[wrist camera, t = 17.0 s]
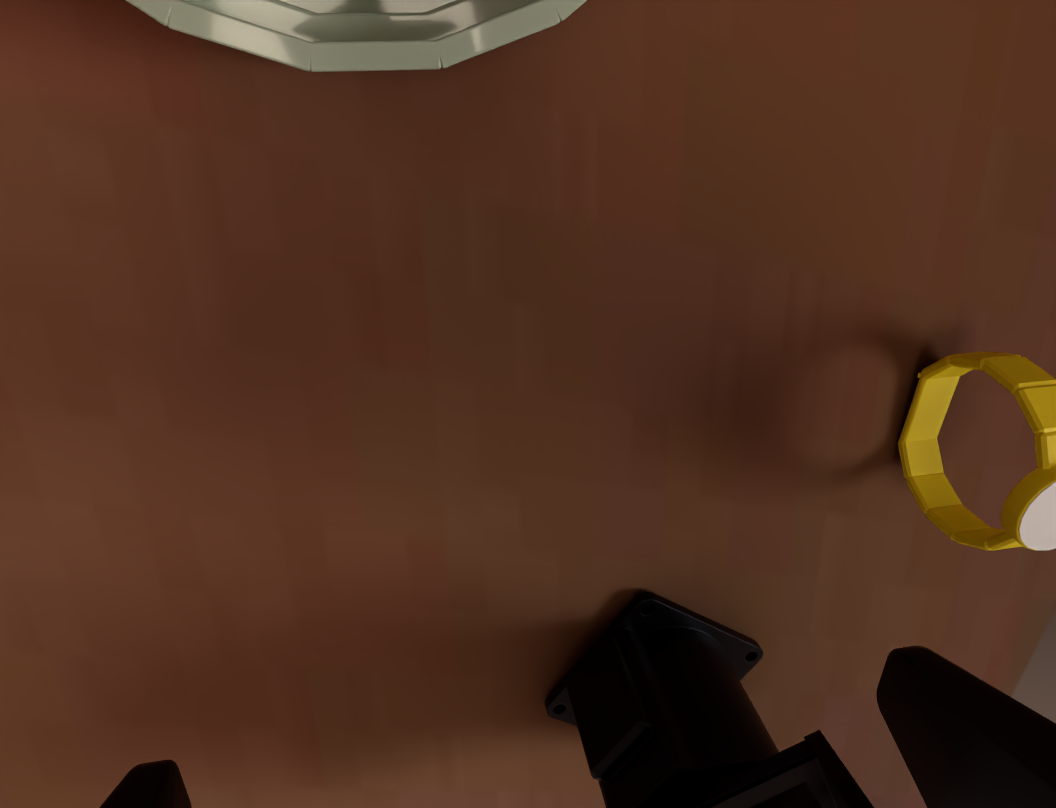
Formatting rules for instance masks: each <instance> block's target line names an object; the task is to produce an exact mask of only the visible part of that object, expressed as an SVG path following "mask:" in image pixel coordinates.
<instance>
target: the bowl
mask: <svg viewBox="0 0 1056 808" xmlns="http://www.w3.org/2000/svg"><path fill="white" fill-rule="evenodd" d="M125 1H127V2H128V3H130V4H131V5H133V6H134V7H136V8H138V9H139V10H141V11H142V12H144V13H145V14H147V15H148V16H150V17H151V18H153V19H154V20H156V21H157V22H159V23H161V24H162V25H164V26H168V28H170V29H172V30H176V31H179V32H182V33H185V34H189V35H192V36H195V37H198V38H201V39H205V40H208V41H211V42H214V43H217V44H221V45H224V46H227V47H230V48H234V49H237V50H240V51H243V52H246V53H250V54H253V55H256V56H259V57H263V58H266V59H269V60H272V61H275V62H279V63H282V64H285V65H288V66H291V67H295V68H298V69H301V70H304V71H312V72H343V71H389V70H434V69H440V68H447V67H449V66H452V65H454V64H457V63H459V62H462V61H465V60H467V59H470V58H472V57H475V56H477V55H480V54H483V53H485V52H488V51H490V50H493V49H495V48H498V47H501V46H503V45H506V44H508V43H511V42H513V41H516V40H519V39H521V38H524V37H526V36H529V35H531V34H534V33H537V32H539V31H542V30H544V29H547V28H549V27H552V26H554V25H557V24H559V23H560V22H561V21H564V20H565V19H566V18H567V17H569V16H570V15H571V14H572V13H573V12H574V11H576V10H577V9H578V8H579V7H580V6H581V5H583V4H584V3H585V2H586V1H587V0H125Z"/></svg>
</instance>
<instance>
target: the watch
mask: <svg viewBox="0 0 1056 808" xmlns="http://www.w3.org/2000/svg"><path fill="white" fill-rule="evenodd" d="M973 369H975V370H983V371H984V372H986V373H987V374H988V375H990V376H991V377H992V378H993V379H995V380H996V381H997V382H998V383H1000V384H1001V385H1002V386H1003V387H1005V388H1006V389H1007V390H1008V391H1010V392H1011V393H1012V394H1014V396H1015V398H1016V400H1017V402H1018V404H1019V406H1020V408H1021V410H1022V411H1023V413H1024V415H1025V417H1026V419H1027V421H1028V423H1029V425H1030V427H1031V429H1032V431H1033V433H1034V434H1035V447H1036V458H1037V469H1035V470H1033V471H1032V472H1031V473H1030V474H1028V475H1027V476H1026V477H1024V478H1023V479H1022V480H1021V481H1020V482H1019V483H1018V484H1017V485H1016V486H1015V487H1014V488H1013V490H1012V491H1011V492H1010V494H1009V495H1008V497H1007V499H1006V501H1005V502H1004V505H1003V508H1002V512H1001V521H1002V527H1003V528H1004V529H1005V530H1002V529H998V528H993V527H989V526H988V525H987V524H985V523H984V522H983V521H982V520H980V519H979V518H978V517H977V516H976V515H974V514H973V513H972V512H971V511H969V510H968V509H967V508H966V507H964V506H963V505H962V503H961V502H960V500H959V498H958V497H957V495H956V493H955V491H954V490H953V488H952V486H951V485H950V483H949V481H948V479H947V478H946V476H945V474H944V473H943V472H944V471H943V466H942V461H941V456H940V451H939V446H938V441H937V436H938V433H939V431H940V428H941V425H942V423H943V420H944V417H945V415H946V412H947V409H948V407H949V404H950V401H951V399H952V396H953V393H954V391H955V388H956V385H957V383H958V380H959V377H960V376H961V375H963V374H965V373H967V372H969V371H971V370H973ZM919 377H920V379H919V382H918V385H917V388H916V391H915V394H914V397H913V400H912V403H911V406H910V409H909V412H908V415H907V418H906V421H905V424H904V427H903V430H902V433H901V435H900V438H899V441H898V447H899V452H900V458H901V463H902V468H903V473H904V477H905V478H906V479H907V480H906V483H907V484H908V486H909V488H910V490H911V492H912V494H913V496H914V497H915V499H916V501H917V503H918V505H919V507H920V508H921V510H922V512H923V513H924V514H926V517H927V518H928V519H929V520H930V521H931V522H932V523H934V524H935V525H936V526H937V527H938V528H939V529H940V530H942V531H943V532H944V533H945V534H946V535H947V536H948V537H950V538H951V539H952V540H955V541H956V542H957V543H960V544H963V545H967V546H971V547H975V548H979V549H983V550H987V551H989V550H1000V549H1007V548H1014V547H1021V546H1024V547H1026V548H1029V549H1031V550H1051V549H1055V548H1056V379H1055V378H1054V377H1052V376H1051V375H1049V374H1048V373H1047V372H1045V371H1044V370H1043V369H1041V368H1040V367H1038V366H1037V365H1036V364H1034V363H1033V362H1031V361H1030V360H1029V359H1027V358H1026V357H1021V356H1020V355H1018V354H1008V353H998V352H988V351H986V352H975V353H964V354H953V355H949V356H946V357H944V358H942V359H940V360H939V361H937V362H935V363H933V364H931V365H930V366H928V367H926V368H924V369H923V370H922V372H921V373H918V378H919Z"/></svg>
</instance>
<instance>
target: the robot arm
mask: <svg viewBox="0 0 1056 808" xmlns="http://www.w3.org/2000/svg"><path fill="white" fill-rule="evenodd" d="M645 605H648V606H647V607H644V606H645ZM642 607H644V608H642ZM762 656H763V651H762V649H761V647H760V646H759V644H758V643H757V642H756V641H755V640H753V639H751V638H749V637H747V636H744V635H742V634H740V633H738V632H736V631H734V630H732V629H729V628H727V627H725V626H723V625H721V624H719V623H716V622H714V621H712V620H710V619H708V618H706V617H704V616H701V615H699V614H697V613H695V612H693V611H691V610H689V609H686V608H684V607H682V606H680V605H678V604H676V603H673V602H671V601H669V600H667V599H665V598H663V597H661V596H658V595H656V594H654V593H651V592H642V593H640V594H638V595H637V596H635V597H634V598H633V599H632V601H631V602H630V603H629V604H628V605H627V606H626V607H625V609H624V610H623V611H622V612H621V613H620V614H619V615H618V617H617V618H616V619H615V620H614V621H613V622H612V623H611V625H610V626H609V627H608V628H607V629H606V630H605V631H604V633H603V634H602V635H601V636H600V637H599V638H598V639H597V641H596V642H595V643H594V644H593V645H592V646H591V647H590V649H589V650H588V651H587V652H586V653H585V654H584V655H583V657H582V658H581V659H580V660H579V661H578V662H577V663H576V665H575V666H574V667H573V668H572V669H571V670H570V671H569V673H568V674H567V675H566V676H565V677H564V678H563V679H562V681H561V682H560V683H559V684H558V685H557V686H556V687H555V689H554V690H553V691H552V692H551V693H550V694H549V695H548V697H547V698H546V700H545V706H546V710H547V713H548V715H549V716H550V717H552V718H555V719H558V720H561V721H564V722H567V723H569V724H572V725H575V726H577V727H578V730H579V734H580V737H581V741H582V744H583V748H584V752H585V755H586V759H587V762H588V766H589V769H590V773H591V776H592V777H593V778H594V779H597V780H598V781H599V785H600V788H601V792H602V795H603V799H604V802H605V806H606V808H874V807H873V806H872V804H871V803H870V801H869V800H868V798H867V797H866V796H865V794H864V793H863V791H862V790H861V788H860V787H859V786H858V784H857V783H856V781H855V780H854V778H853V777H852V776H851V774H850V773H849V771H848V770H847V768H846V767H845V766H844V764H843V763H842V761H841V760H840V759H839V757H838V756H837V754H836V753H835V751H834V750H833V749H832V747H831V746H830V744H829V743H828V741H827V740H826V739H825V737H824V736H823V734H822V733H821V731H820V730H818V731H816V732H813V733H811V734H809V735H807V736H805V737H804V739H805V740H804V741H802V742H800V743H798V744H796V745H794V746H791V747H789V748H787V749H785V750H783V751H781V752H779V751H778V749H777V747H776V746H775V744H774V742H773V740H772V738H771V737H770V735H769V733H768V731H767V729H766V728H765V726H764V724H763V722H762V720H761V719H760V717H759V715H758V713H757V711H756V710H755V708H754V706H753V704H752V702H751V701H750V699H749V697H748V695H747V693H746V692H745V690H744V688H743V686H742V684H741V683H740V680H741V679H742V678H743V677H744V676H745V675H746V674H747V673H748V672H749V671H750V670H751V669H752V668H753V667H754V666H755V665H756V664H757V663H758V662H759V661H760V659H761V658H762ZM877 703H878V706H879V709H880V711H881V714H882V716H883V718H884V720H885V722H886V724H887V726H888V728H889V730H890V732H891V734H892V736H893V738H894V740H895V742H896V744H897V746H898V748H899V750H900V752H901V754H902V756H903V759H904V761H905V763H906V765H907V767H908V769H909V771H910V773H911V775H912V777H913V779H914V781H915V783H916V785H917V787H918V789H919V791H920V793H921V795H922V797H923V799H924V801H925V803H926V806H927V807H928V808H1056V723H1054V722H1052V721H1050V720H1049V719H1047V718H1045V717H1043V716H1042V715H1040V714H1039V713H1037V712H1035V711H1033V710H1032V709H1030V708H1028V707H1027V706H1025V705H1023V704H1022V703H1020V702H1018V701H1016V700H1015V699H1013V698H1011V697H1010V696H1008V695H1006V694H1005V693H1003V692H1001V691H1000V690H998V689H996V688H994V687H993V686H991V685H989V684H988V683H986V682H984V681H983V680H981V679H979V678H978V677H976V676H974V675H972V674H971V673H969V672H967V671H966V670H964V669H962V668H961V667H959V666H957V665H955V664H954V663H952V662H950V661H949V660H947V659H945V658H944V657H942V656H940V655H939V654H937V653H935V652H933V651H932V650H930V649H928V648H926V647H923V646H910V647H903V648H897V649H894V650H892V651H891V652H890V653H889V655H888V657H887V660H886V663H885V666H884V669H883V672H882V675H881V678H880V681H879V684H878V688H877ZM100 808H191V802H190V799H189V796H188V793H187V791H186V788H185V785H184V782H183V779H182V776H181V774H180V771H179V768H178V766H177V764H176V763H175V762H174V761H172V760H162V761H155V762H149V763H142V764H139V765H137V766H135V767H134V768H132V769H131V770H130V771H129V772H128V773H127V774H126V776H125V777H124V778H123V779H122V781H121V782H120V783H119V784H118V786H117V787H116V788H115V789H114V790H113V792H112V793H111V794H110V795H109V797H108V798H107V799H106V800H105V802H104V803H103V804H102V805H101V806H100Z"/></svg>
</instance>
